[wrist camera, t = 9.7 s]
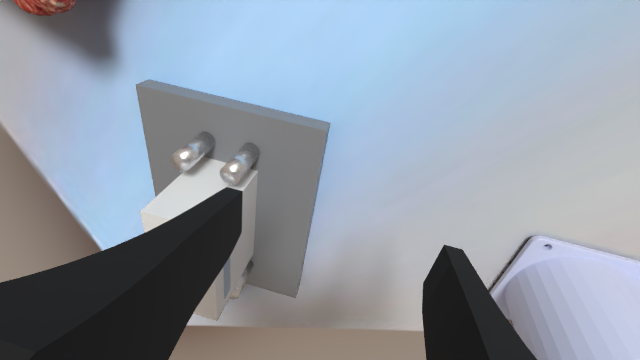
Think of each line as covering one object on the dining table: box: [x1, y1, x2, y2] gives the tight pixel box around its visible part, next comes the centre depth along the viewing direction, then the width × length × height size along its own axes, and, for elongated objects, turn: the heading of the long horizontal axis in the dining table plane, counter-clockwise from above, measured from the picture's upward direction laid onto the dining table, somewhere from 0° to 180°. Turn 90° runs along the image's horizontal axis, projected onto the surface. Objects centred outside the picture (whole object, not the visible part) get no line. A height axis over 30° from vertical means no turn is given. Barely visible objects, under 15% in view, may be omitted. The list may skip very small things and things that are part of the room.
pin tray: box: [136, 80, 330, 299], centre depth 22 cm, size 12×16×4 cm
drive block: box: [140, 157, 258, 321], centre depth 21 cm, size 4×8×6 cm, turn 170°
